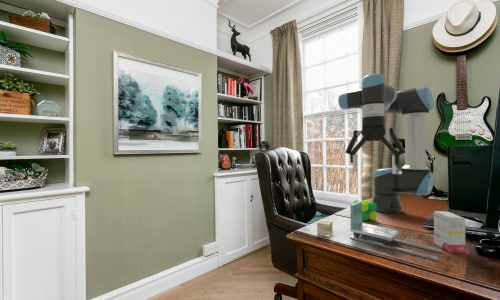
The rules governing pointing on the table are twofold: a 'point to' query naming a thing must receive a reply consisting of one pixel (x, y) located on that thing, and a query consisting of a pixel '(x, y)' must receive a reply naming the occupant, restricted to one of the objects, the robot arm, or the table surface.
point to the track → (402, 248)
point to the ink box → (449, 231)
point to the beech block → (324, 227)
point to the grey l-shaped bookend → (369, 226)
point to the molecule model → (368, 210)
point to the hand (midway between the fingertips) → (373, 172)
